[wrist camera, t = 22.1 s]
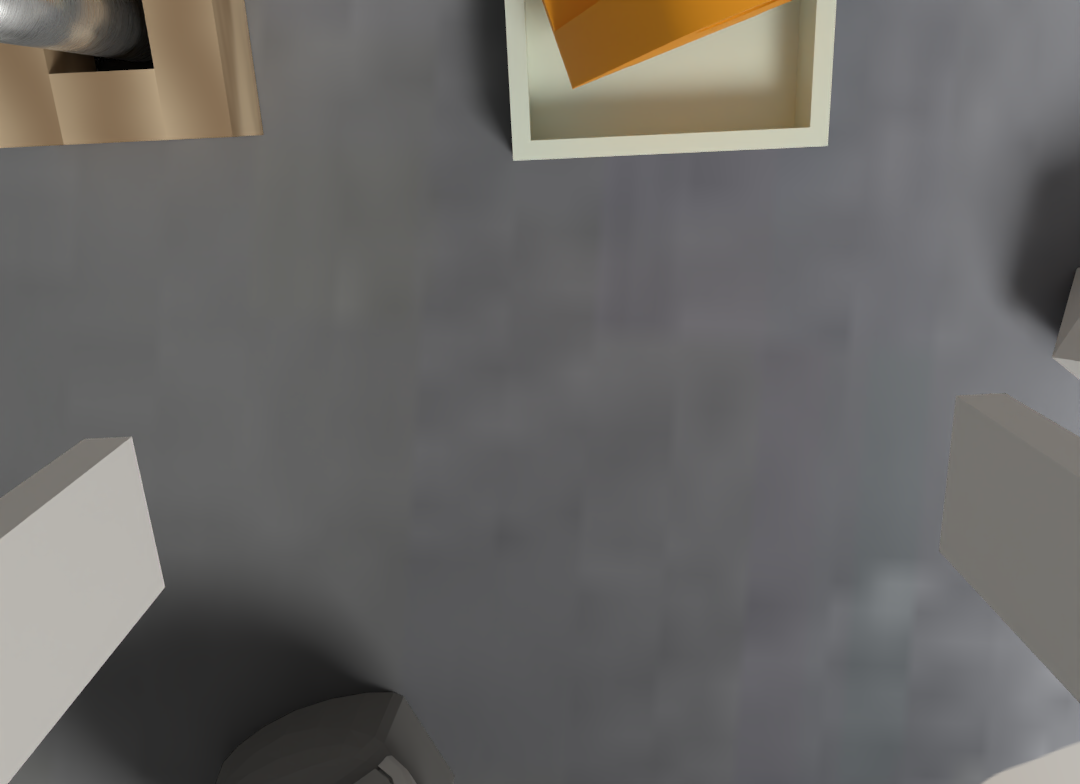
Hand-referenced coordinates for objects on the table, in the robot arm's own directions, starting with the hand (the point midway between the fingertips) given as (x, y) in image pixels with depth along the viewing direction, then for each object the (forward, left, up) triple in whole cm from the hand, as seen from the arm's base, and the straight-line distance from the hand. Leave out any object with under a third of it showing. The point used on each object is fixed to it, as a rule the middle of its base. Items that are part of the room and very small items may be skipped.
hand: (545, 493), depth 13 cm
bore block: (-18, +11, -28) cm, 35 cm away
